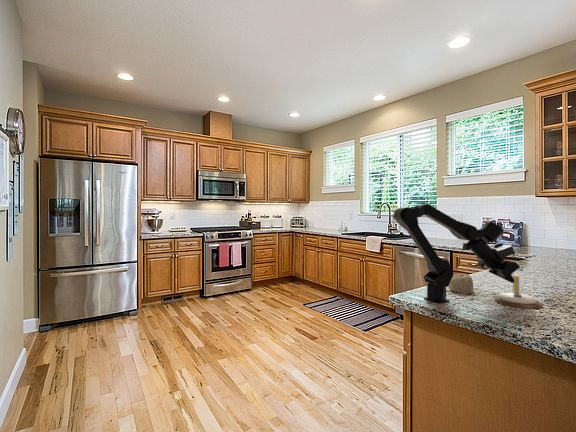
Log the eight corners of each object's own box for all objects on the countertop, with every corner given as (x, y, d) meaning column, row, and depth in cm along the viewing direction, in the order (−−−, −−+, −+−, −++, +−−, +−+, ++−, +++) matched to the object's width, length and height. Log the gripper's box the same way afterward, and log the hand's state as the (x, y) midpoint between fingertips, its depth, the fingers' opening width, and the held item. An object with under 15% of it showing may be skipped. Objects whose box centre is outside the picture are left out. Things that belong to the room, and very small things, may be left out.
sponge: (470, 303, 126) (484, 283, 126) (451, 290, 126) (465, 270, 126) (458, 297, 135) (471, 278, 135) (440, 284, 135) (453, 266, 135)
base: (532, 311, 103) (532, 307, 103) (487, 301, 115) (487, 298, 115) (549, 304, 110) (549, 301, 110) (505, 295, 122) (505, 293, 122)
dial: (501, 301, 110) (501, 278, 110) (497, 294, 120) (497, 273, 120) (539, 306, 105) (539, 281, 105) (533, 297, 115) (533, 275, 115)
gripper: (515, 239, 107) (547, 272, 105) (487, 235, 125) (514, 263, 124) (489, 260, 108) (522, 293, 106) (465, 253, 126) (492, 281, 125)
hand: (512, 281), depth 115 cm, fingers closed
